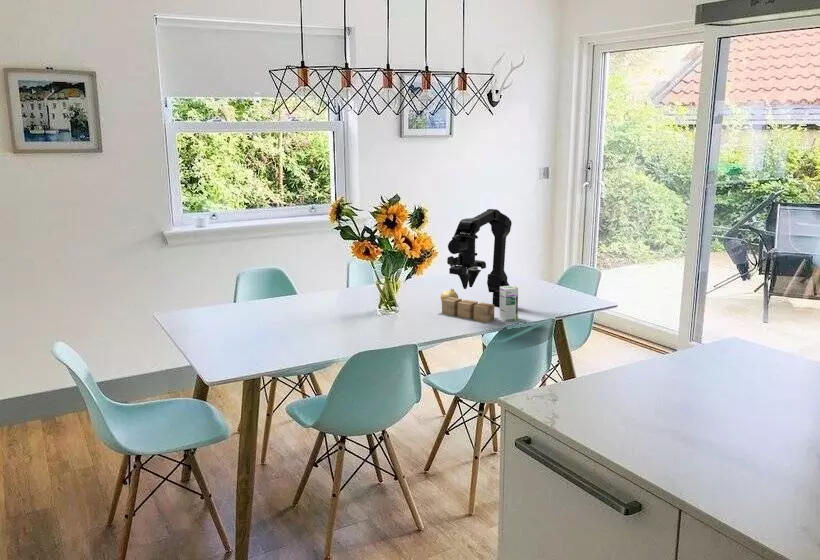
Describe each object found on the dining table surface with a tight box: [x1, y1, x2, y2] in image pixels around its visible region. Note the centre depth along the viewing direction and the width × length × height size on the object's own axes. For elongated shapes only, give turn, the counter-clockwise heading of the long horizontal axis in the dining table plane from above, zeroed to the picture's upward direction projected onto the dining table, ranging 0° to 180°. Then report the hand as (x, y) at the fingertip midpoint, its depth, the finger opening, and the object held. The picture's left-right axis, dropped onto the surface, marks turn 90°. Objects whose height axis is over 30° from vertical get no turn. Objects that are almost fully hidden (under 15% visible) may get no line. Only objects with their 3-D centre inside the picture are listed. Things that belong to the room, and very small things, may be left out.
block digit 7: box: [474, 302, 495, 322], centre depth 281 cm, size 6×6×6 cm
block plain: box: [458, 299, 479, 319], centre depth 286 cm, size 6×6×6 cm
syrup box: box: [499, 285, 519, 322], centre depth 280 cm, size 6×6×14 cm
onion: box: [440, 288, 459, 302], centre depth 310 cm, size 8×8×7 cm
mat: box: [437, 312, 500, 325], centre depth 287 cm, size 10×24×1 cm, turn 51°
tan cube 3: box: [441, 297, 463, 316], centre depth 291 cm, size 6×6×6 cm
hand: (467, 288), depth 284 cm, fingers open, 4 cm apart
